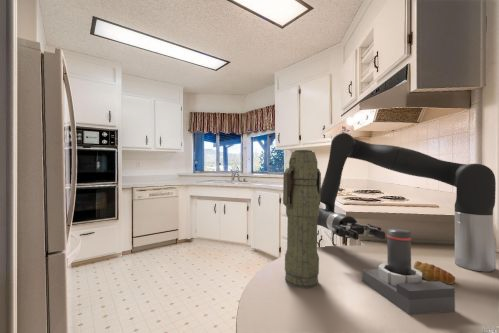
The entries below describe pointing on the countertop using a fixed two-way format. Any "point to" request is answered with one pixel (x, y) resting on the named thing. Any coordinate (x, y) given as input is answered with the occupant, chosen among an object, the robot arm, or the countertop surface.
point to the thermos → (302, 218)
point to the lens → (399, 251)
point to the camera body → (411, 290)
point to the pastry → (434, 273)
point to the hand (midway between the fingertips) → (370, 236)
